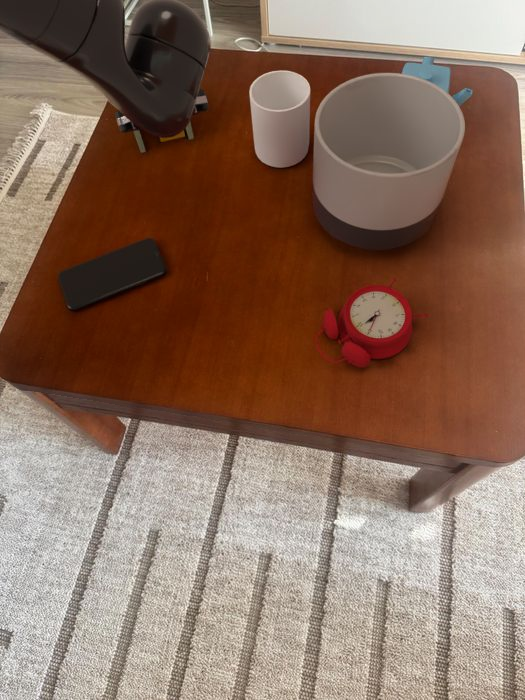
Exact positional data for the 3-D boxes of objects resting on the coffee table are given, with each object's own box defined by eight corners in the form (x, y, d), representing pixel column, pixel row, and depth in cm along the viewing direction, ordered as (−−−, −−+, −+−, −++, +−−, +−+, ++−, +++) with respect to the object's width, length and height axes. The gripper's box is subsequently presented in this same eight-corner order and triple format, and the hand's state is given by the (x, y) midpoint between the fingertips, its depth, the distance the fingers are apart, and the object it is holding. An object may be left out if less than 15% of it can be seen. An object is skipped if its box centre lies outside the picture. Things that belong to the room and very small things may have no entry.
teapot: (386, 88, 97) (395, 34, 88) (464, 97, 95) (482, 43, 86) (369, 158, 90) (377, 107, 81) (453, 170, 87) (471, 119, 78)
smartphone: (70, 314, 79) (169, 275, 81) (68, 311, 78) (168, 271, 80) (58, 275, 82) (153, 238, 84) (55, 272, 82) (152, 234, 84)
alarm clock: (439, 318, 71) (353, 362, 65) (421, 344, 76) (340, 387, 70) (390, 266, 75) (306, 303, 69) (377, 294, 80) (297, 330, 74)
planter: (311, 262, 81) (314, 177, 65) (311, 169, 89) (314, 73, 73) (440, 262, 79) (475, 175, 63) (427, 167, 88) (456, 69, 72)
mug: (247, 164, 91) (241, 106, 80) (267, 117, 96) (264, 56, 85) (301, 174, 89) (301, 116, 78) (318, 125, 94) (320, 64, 83)
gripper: (207, 52, 62) (197, 81, 78) (96, 80, 60) (110, 104, 77) (224, 119, 64) (212, 134, 80) (118, 147, 63) (127, 157, 79)
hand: (162, 119), depth 79 cm, fingers closed
